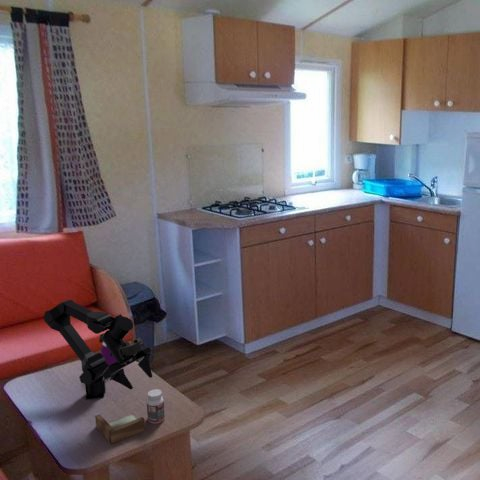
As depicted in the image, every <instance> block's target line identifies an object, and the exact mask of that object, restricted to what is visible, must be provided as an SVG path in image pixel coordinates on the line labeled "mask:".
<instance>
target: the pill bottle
mask: <svg viewBox="0 0 480 480" xmlns="http://www.w3.org/2000/svg"><path fill="white" fill-rule="evenodd" d="M164 401H165V400H164V398H163V394H162V390H161V389H151V390H149V391H148V392H147V399H146V413H147V415H146V416H147V421H148V422H149V423H151V424H153V425H154V424H160V423H161V422H164V421H165V417H166V416H165V402H164Z"/></svg>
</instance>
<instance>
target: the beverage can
mask: <svg viewBox="0 0 480 480" xmlns="http://www.w3.org/2000/svg"><path fill="white" fill-rule="evenodd" d="M100 353H101V354H102V356H103V357H104V358H105V359H106V360H107V361H106V362H107V363H108V365H109V366H110V365H111V364H113V363H115V362H117V361H116V359H115V358H114V356H112V357H111V356H110V354H111V352H110V350H109V349H108V347H107V346H106V344H105V343H104V342H101V348H100Z"/></svg>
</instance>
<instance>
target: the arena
mask: <svg viewBox="0 0 480 480" xmlns="http://www.w3.org/2000/svg"><path fill="white" fill-rule="evenodd" d="M94 419H95V426H96V428H97V429H98V430H99V432H100V433H101V434H102V435H103V437H105V439H107V441H108V442H109V443H110V444H111V445H113V444H115V443H117V442H120V441H122V440H124V439H125V440H126V439H127V438H130V437H131V436H134V435H136V434H137V435H138V434H139V433H142V432H143V431H146V420H145V418H144V416H141V417H139V418H137V417H135V416H134V415H133V414H130V415H127V416H125V417H122V418H120V419H117V420H114V421H112V422H108V421H107V420H106V419H105V418H104V417H103V416H102V415H101V414H97V415H95V416H94Z"/></svg>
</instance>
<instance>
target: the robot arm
mask: <svg viewBox="0 0 480 480" xmlns="http://www.w3.org/2000/svg"><path fill="white" fill-rule="evenodd" d="M71 317H72V318H74V319H76V320H78V321H79V322H82V323H83V324H85V325H86V327H87V329H88V330H90V331H91V332H92V333H94V334H95V335H97V334H99V340H98V343H101V344H102V343H103V342H104V343H105V344H106V346H107V347H108V349H109V350H110V352H111V354H110V356H111V357H112V356H114V358H115V359H116V361H117V362H115V363H113V364H111V365H110V366H109V365H108V363H107V362H106V361H107V360H106V359H105V358H104V357H103V356H102V354H101V352H97V353H95V352H93V351H92V349H91V348H90V347H89V346H88V344H87V342H86V341H85V340H84V339H83V337H82V336H81V334H79V333H78V331H77V330H76V328H75V327H74V326H73V325H72V323H71ZM42 319H43V321H44V322H45V324H46V325H47V326H48V327H49V328H50V329H51V330H54V331H57V332H59V333H60V335H61V336H62V337H63V339H64V340H65V341H66V343H67V344H68V346H69V347H70V348H71V350H72V351H73V352H74V353H75V355H76V356H77V357H78V358H79V360H80V363H81V371H82V373H81V374H80V376H79V381H80V383H81V384H84V386H85V388H84V389H85V400H93V399H101V398H105V394H106V391H107V388H106V387H107V386H106V381H108V380H110V381H113V382H116V383H119V384H121V385H122V386H124V387H125V388H127V389H129V390H133V389H134V387H133V385H132V382H130V380H129V379H128V377H127V376H126V374H125V370H124V368H125V367H127V366H128V365H131V364H132V363H135V362H137V366H139V368H140V369H141V370H142V372H144V374H145V375H146V376H147V377H148V378H149V379H152V378H153V373H152V369H151V365H150V357H151V356H152V352H153V350H152V348H151V347H150V346H147V345H146V346H145V342H144V341H143V340H142V339H141V337H137V338H135V339H134V340H133V342H132V343H130V342H129V341H125V340H124V338H126V336H127V335H128V334H129V333H130V332H131V331H132V330H133V327H134V322H133V321H132V320H131V319H130V318H129V317H127V316H123V315H122V314H121V313H120V314H118V315H116V316H115V317H114V316H112V315H111V314H110V313H108V312H105V311H95V310H91V309H89V308H87V307H85V306H83V305H80V304H78V303H76V302H75V301H74V300H73V299H67V300H63V301H61V302H59V303H58V304H57V305H56V306H54V307H52V308H51V309H48V310H46V311H45V312H44V315H43V318H42ZM103 332H104V333H103Z"/></svg>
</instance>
